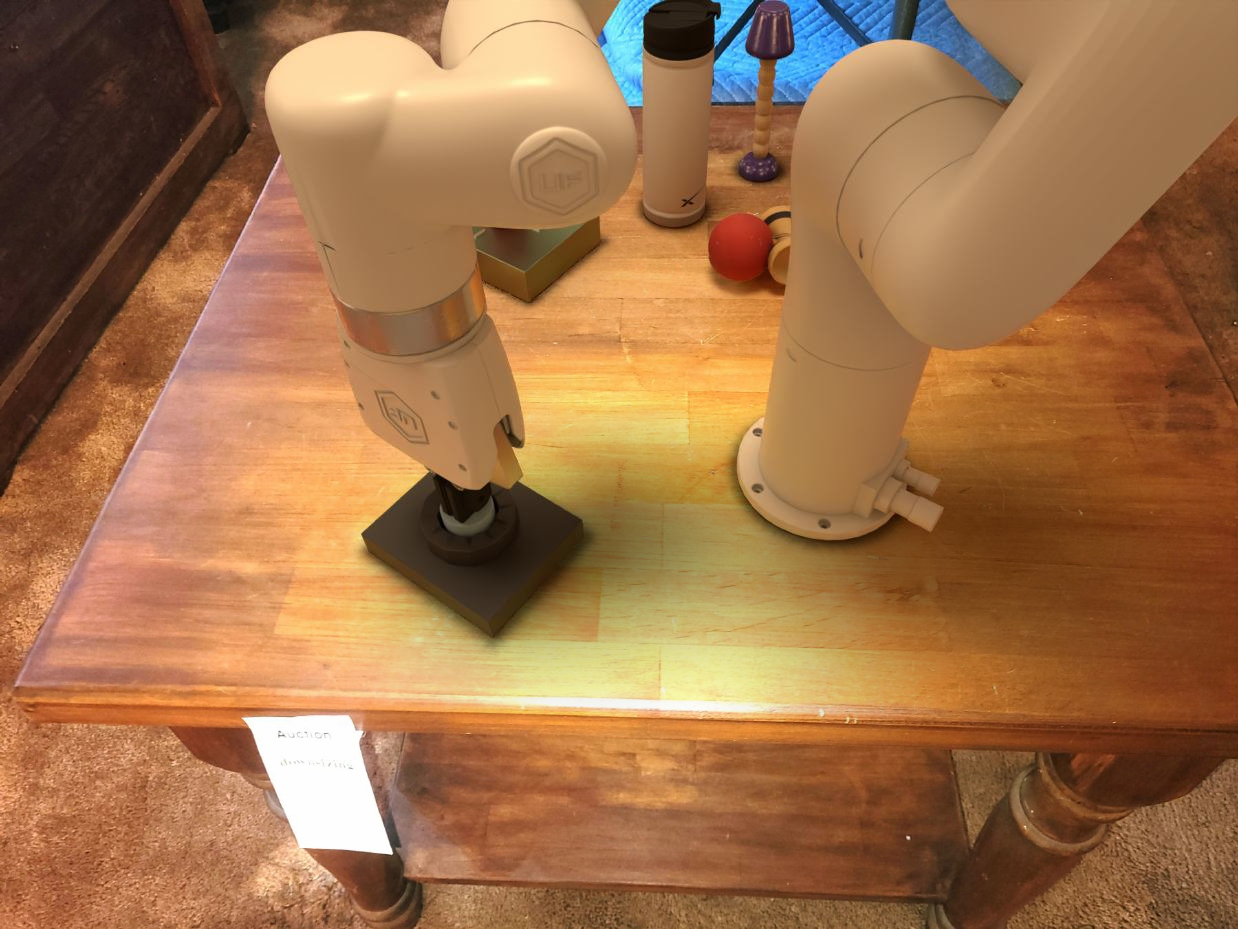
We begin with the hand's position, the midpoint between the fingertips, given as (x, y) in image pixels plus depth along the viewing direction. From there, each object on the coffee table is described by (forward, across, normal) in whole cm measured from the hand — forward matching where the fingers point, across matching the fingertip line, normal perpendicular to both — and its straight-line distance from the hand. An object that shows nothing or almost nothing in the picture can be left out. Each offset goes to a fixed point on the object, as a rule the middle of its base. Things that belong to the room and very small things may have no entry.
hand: (468, 504), depth 60 cm
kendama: (+5, +4, +41) cm, 41 cm away
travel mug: (+5, -11, +42) cm, 44 cm away
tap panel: (+5, -21, +28) cm, 35 cm away
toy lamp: (+5, -8, +53) cm, 54 cm away
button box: (+5, 0, 0) cm, 5 cm away
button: (+2, 0, 0) cm, 2 cm away
